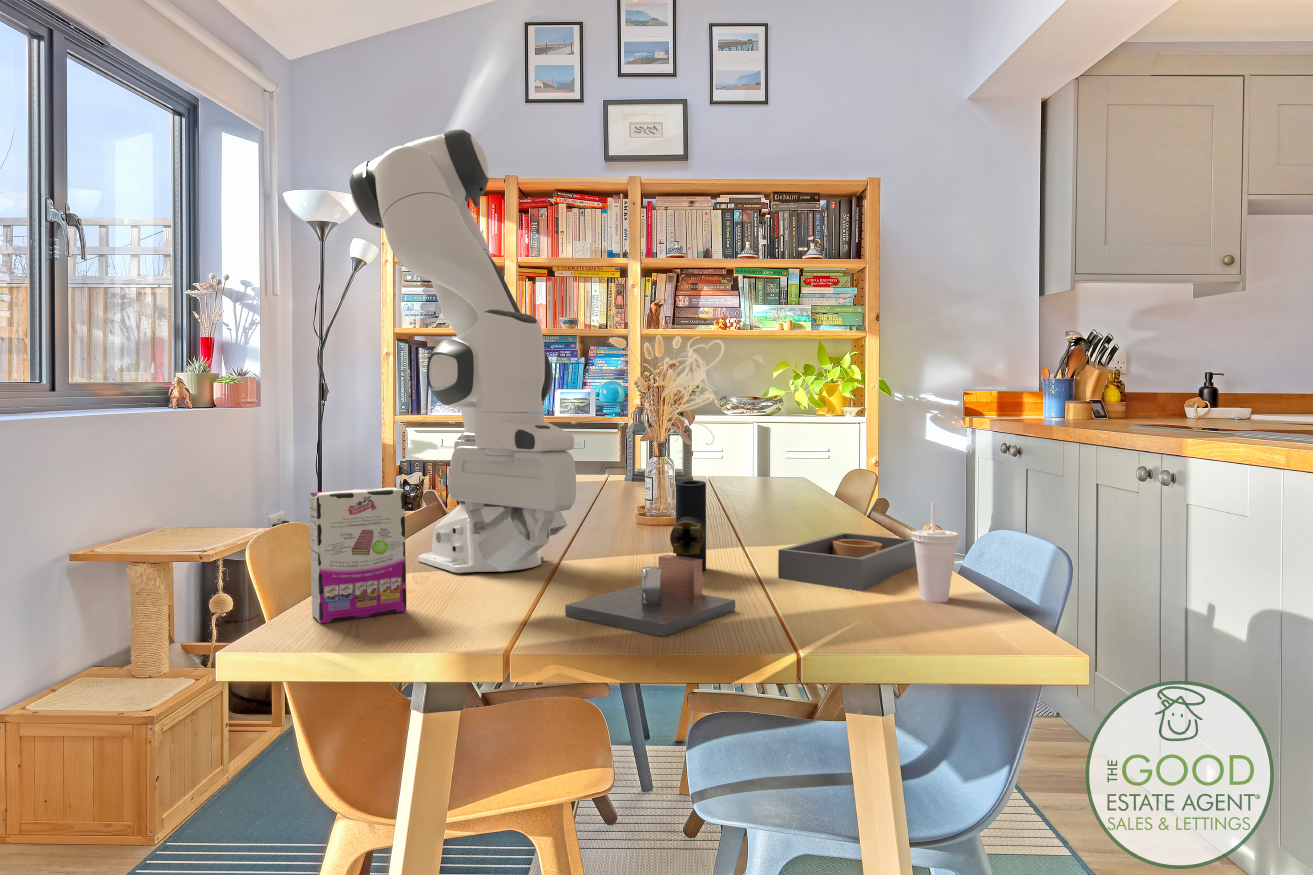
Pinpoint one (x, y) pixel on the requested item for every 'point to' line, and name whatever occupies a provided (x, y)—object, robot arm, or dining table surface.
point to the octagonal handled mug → (513, 537)
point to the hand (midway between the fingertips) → (508, 539)
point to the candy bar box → (357, 553)
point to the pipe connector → (690, 521)
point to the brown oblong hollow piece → (855, 547)
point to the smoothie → (934, 560)
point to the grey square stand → (656, 600)
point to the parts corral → (845, 562)
